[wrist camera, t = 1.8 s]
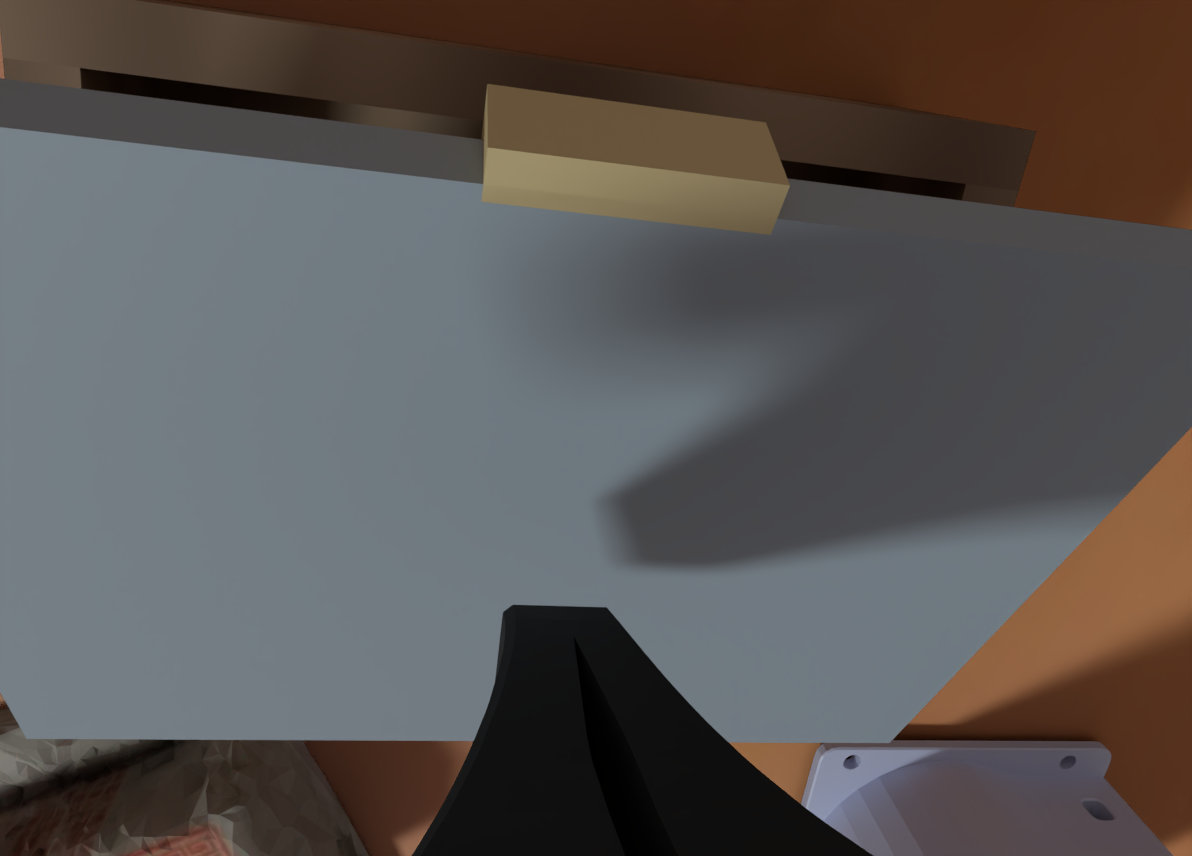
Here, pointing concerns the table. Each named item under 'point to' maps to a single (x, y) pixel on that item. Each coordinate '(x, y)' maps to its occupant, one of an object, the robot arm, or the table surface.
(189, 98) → the box
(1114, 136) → the table surface
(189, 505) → the lid
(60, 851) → the packaged product
